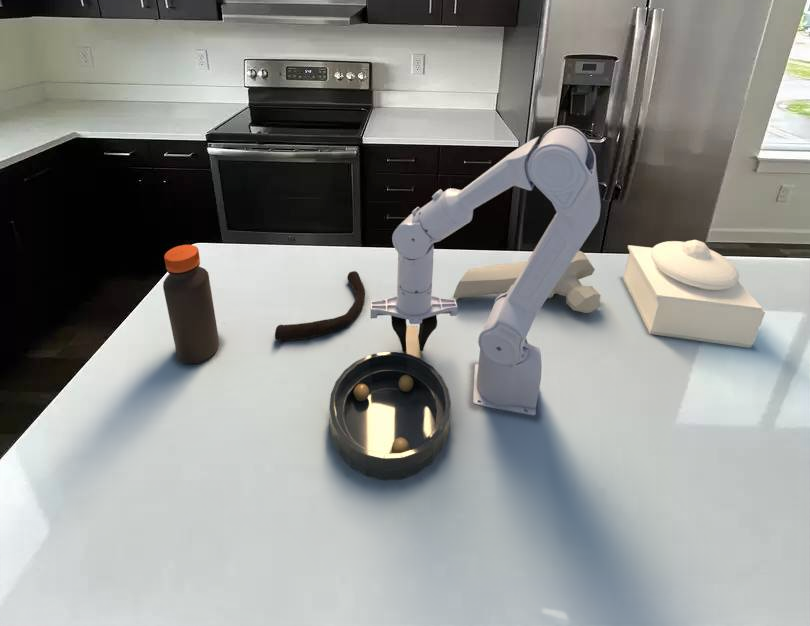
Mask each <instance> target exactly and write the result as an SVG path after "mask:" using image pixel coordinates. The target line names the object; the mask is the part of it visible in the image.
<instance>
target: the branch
mask: <svg viewBox="0 0 810 626" xmlns="http://www.w3.org/2000/svg"><path fill="white" fill-rule="evenodd" d="M346 279H347V281H348V283H349V285H350V286H351V287H352V290H353V293H354V297H355V299H354V302H353V304H352V305H351V307H350V308H348V311H347V312H346V313H345V314H343V315H340V316H337V317H333V318H327V319H320V320H316V321H311V322H303V323H302V322H301V323H293V324H291V323H290V324H279V325H277V326H276V328H275V332H274V339H275V340H276V341H278V342H288V341H293V340H304V339H309V338H313V337H318V336H321V335H322V336H323V335H325V334H330V333H334V332H338V331H340V330H342V329H344V328H346V326H348V325H349V324H350V323H352V322H353V321H354V320H355V319H356V318H357V317H358V316H359V314H360V313H361V312H362V311H363V309H364V307H363V306H364V302H365V300H366V299H365V298H366V289H365V286H364V284H363V282H362V280H361V276H360V273H359V272H357V271H356V270H353V271H349V272H348V274H347V276H346Z"/></svg>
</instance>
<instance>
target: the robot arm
mask: <svg viewBox="0 0 810 626" xmlns="http://www.w3.org/2000/svg"><path fill="white" fill-rule="evenodd" d="M539 138H540V136H536V137H535V138H532V139H531V140H529V141H527V142H526V143H524V144H523V145H521V146H519V147H518V148H516V149H515V150H513V151H512V152H510V153H508V154H507V155H506V156H505V157H503V158H502V159H500V160H499V161H498V162H497V163H496V164H494V165H493V166H491V167H489V169H487V170H486V171H485V172H483V173H482V174H481V175H480V176H478V177H476V179H475V180H473V181H472V182H470V183H469V184H467V186H465V187H464V188H463V189H457V188H451V187H450V188H447V189H445V190H444V191H443V190H442V189H441V188H440V189H438V190H437V191H436V192H435V193H434V194H433V195H432V196H431V198H432V199H431V200H430V201H429V202H428V203H426V204H424V205H423V206H422V207H419V206H417V207H416V208H414V209H413V210H412V211H411V214H409V215H408V216H407V217H406V218H405V219H404V220H403V221H402V222H401V223H400V224H399V225H397V227H396V228H395V230H394V231H393V233H392V236H391V239H392V240H391V241H392V245H393V247H394V249H395V251H396V252H397V280H396V281H397V286H396V287H397V288H396V295H395V296H392V297H388V298H384V299H379V300H374V301H373V300H372V301H370V319H378V316H390V319H391V327H392V330H393V331H394V332H395V334H396V335H397V337H398V339H399V341H400V345H401V352H402V353H405V352H406V331H407V326H408V325H407V320H408V322H409V324H410V325H419V328H418V339H419V346H420V352H423V351H424V349H425V346H426V343H427V341H428V339H429V337H430V335H431V334H432V333H433V332H434V331H435V330H436V329H437V327H438V318H437V315H445V314H446V315H447V314H449V316H450V317H457V316H458V303H457V300H456V298H444V297H439V296H433V295H432V292H433V291H432V290H433V273H434V250H435V245H434V243H438V242H441V241H442V240H444V239H445V238H447V237H449V236H450V235H452V234H453V233H456V231H458V230H459V229H462V228H463V227H464V226H466V225H467V224H470V222H472V220H473V216H474V210H475V209H476V208H479V207H480V206H482V205H483V204H485V203H487V202H488V201H490V200H492V199H493V198H495V197H497V196H498V195H500V194H502V193H504V192H506V191H507V190H509V189H511V188H512V187H518V188H520V189H524V190H527V191H533V190H534V186H535V187H536V188H537V189H538V190H539V191H540V192H541V193H542V194H543V195H544V196H545V197H546V198H547V199H548V200H549V201H550V202H551V204H552V206H553V207H554V210H555V214H554V216H553V218H552V219H551V221H550V223H549V224H548V226H547V228H546V229H545V231H544V233H543V234H542V236H541V237H540V239H539V241H538V243H537V244H536V245H535V248H534V249H533V251H532V253H531V255H530V256H529V257H528V260H527V261H526V262H527V263H526V264H525V266H524V268H523V269H522V271H521V273H520V274H519V276H518V278H517V279H516V281H515V283H514V284H513V285H511V287H510V288H509V290H508V291H507V292H506V293H501V294H500V295H498V296H497V297H496V298H495V299H494V301H493V305H492V309H491V311H490V313H489V316H488V318H487V320H486V323H485V325H484V327H483V329H482V330H481V332H480V333H479V335H478V346H479V355H478V363H475V364H474V369H473V370H474V372H473V373H474V374H473V393H472V396H473V397H472V403H473V404H474V405H475V406H480V407H486V408H489V409H490V408H491V409H497V410H503V411H507V412H513V413H518V414H524V415H527V416H528V415H529V416H536V415H537V410H536V409H537V403H538V398H539V393H540V388H541V387H540V386H541V382H542V381H541V380H542V364H543V363H542V352H541V349H540V347H538V346H536V345H533V344H530V343H529V342H528V339H527V337H528V334H529V332H530V330H531V328H532V325H533V323H534V320H535V318H536V315H538V313H539V311H540V310H541V308H542V307H543V305H544V304H545V303H546V301H547V299H548V298H547V297H548V296H549V294H550V293H551V291H552V290H553V288H554V287H555V285H556V284H557V282H558V281H559V279H560V278H561V276H562V275H563V273H564V272H565V270H566V269H567V267H568V266H569V264H570V263H571V261H572V260H573V258H574V257H575V255H576V254H577V252H578V251H580V250H581V248H582V247H583V245H584V243H585V242H586V241H587V239H588V238H589V236H590V234H592V231H593V230H594V228H595V227H596V226H597V224H598V222H599V219H600V217H601V216H600V215H601V208H602V206H601V195H600V189H599V180H598V179H599V178H598V172H597V157H596V156H597V155H596V153H595V151H594V150H593V148H592V147H593V146H592V145H591V144H590V142H589V140H588V138H587V136H586V135H585V134H584V133H583V131H581V130H579V129H578V128H576V127H573V126H570V125H557V126H555V127H552V128H550V129H548V130H547V131H546V132H545V133H544V134H543V135H542V136H541V139H540V141H539V144H537V143H538V140H539Z"/></svg>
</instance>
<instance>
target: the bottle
mask: <svg viewBox="0 0 810 626" xmlns="http://www.w3.org/2000/svg"><path fill="white" fill-rule="evenodd" d="M163 258H164V264H165V269H166V271H167V273H168V275H167V276H166V277H165V279H164V280H163V284H162V288H163V294H164V297H165V298H164V299H165V303H166V308H167V314H168V318H169V323H170V328H171V332H172V333H171V334H172V338H173V341H174V342H173V343H174V347H175V352H176V357H177V359H178V360H179V361H180V362H182V364H187V365H194V364H200V363H203V362H205V361H206V360H208V359H210V358H211V357H212V356H214V355H215V354H216V352H217V351H218V349H219V346H220V338H219V332H218V325H217V320H216V312H215V306H214V300H213V299H214V298H213V294H212V287H211V281H210V274H209V272H208V271H207V270H206V268H204V267H201V266H200V265H201V258H200V252H199V248H198V247H197V246H196V245H193V244H182V245H178V246H174V247H172V248H170V249H169V250H168V251H166V252H165V254H164V255H163Z"/></svg>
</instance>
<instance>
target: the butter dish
mask: <svg viewBox="0 0 810 626" xmlns="http://www.w3.org/2000/svg"><path fill="white" fill-rule="evenodd" d="M627 249H628V251H629V252H628V253H629V254H628V257H627V261H626V266H625V270H624V273H623V279H622V280H623V282H624V285H625V286H626V288H627V290H628V292H629V294H630V296H631V298H632V301H633V302H634V305H635V306H636V309H637V311H638V312H639V314H640V316H641V318H642V320H643V323H644V324H645V327H646V328H647V330H648V333H649V335H655V336H662V337H669V338H676V339H683V340H691V341H699V342H704V343H712V344H720V345H727V346H734V347H740V348H741V347H742V348H747V349H751V348H752V347H753V345H754V342H755V340H756V337H757V335H758V333H759V330H760V328H761V325H762V323H763V319H764V317H765V314H766V311H765V310H764V309H763V307H762V306H761V305H760V304H759V303H758V302H757V300H756V299H755V298H754V297H753V296H752V295H751V294H750V293H749V292H748V290H747V289H746V288H745V287H744V286H743V285H742V284H741V282H739V281H740V274H739V271H738V269H737V268H736V267H735V265H734V264H733V263H732V262H731V261H730V260H729V259H727V258H726V257H724V256H723V255H722V254H720V253H718V252H717V251H714V250H713V249H710V248H709V246H708V245H707V244H706V243H705V242H704V241H700V240H697V239H692V240H691V239H690V240H687V241H678V240H670V241H663V242H659V243H657V244H655V245H654V246H653V247H648V246H640V245H630V244H628V245H627Z"/></svg>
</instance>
